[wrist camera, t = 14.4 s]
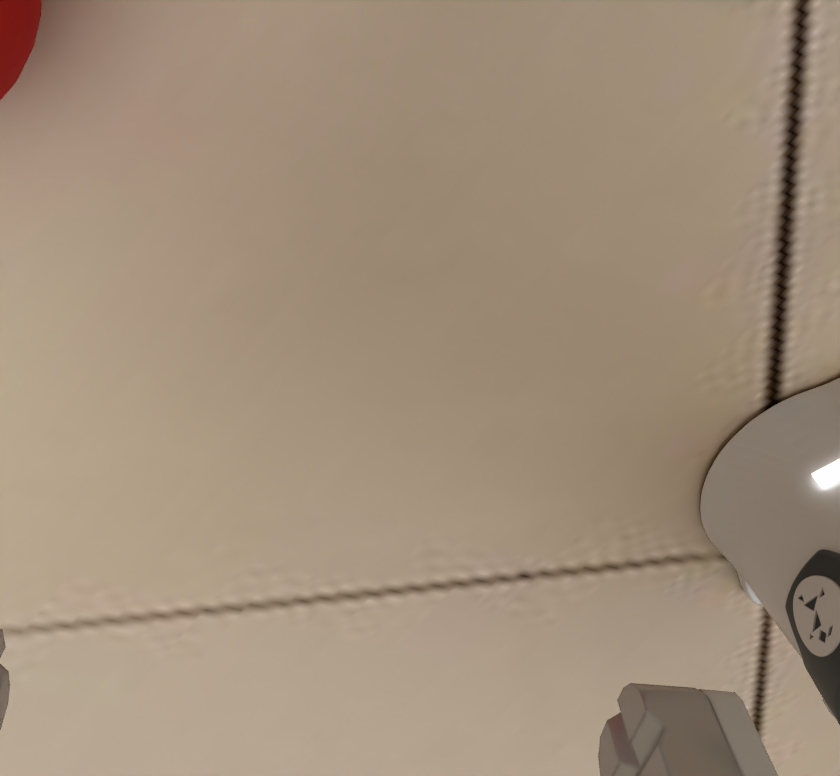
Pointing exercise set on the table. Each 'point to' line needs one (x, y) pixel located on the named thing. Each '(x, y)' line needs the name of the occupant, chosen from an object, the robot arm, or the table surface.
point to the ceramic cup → (16, 38)
